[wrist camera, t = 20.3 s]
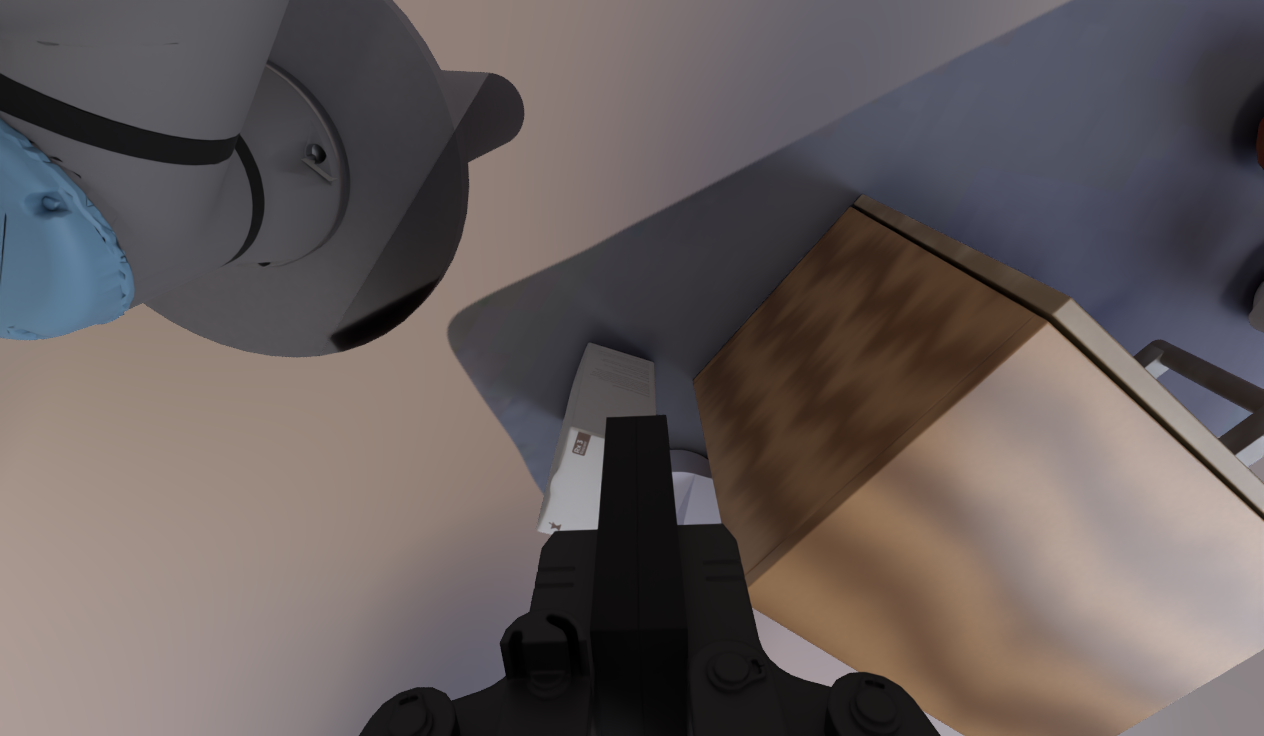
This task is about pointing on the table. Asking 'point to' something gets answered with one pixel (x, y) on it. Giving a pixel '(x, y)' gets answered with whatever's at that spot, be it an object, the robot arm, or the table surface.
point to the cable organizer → (1258, 310)
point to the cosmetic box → (592, 434)
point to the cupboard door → (1117, 358)
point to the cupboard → (970, 500)
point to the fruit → (1260, 144)
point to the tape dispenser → (693, 489)
